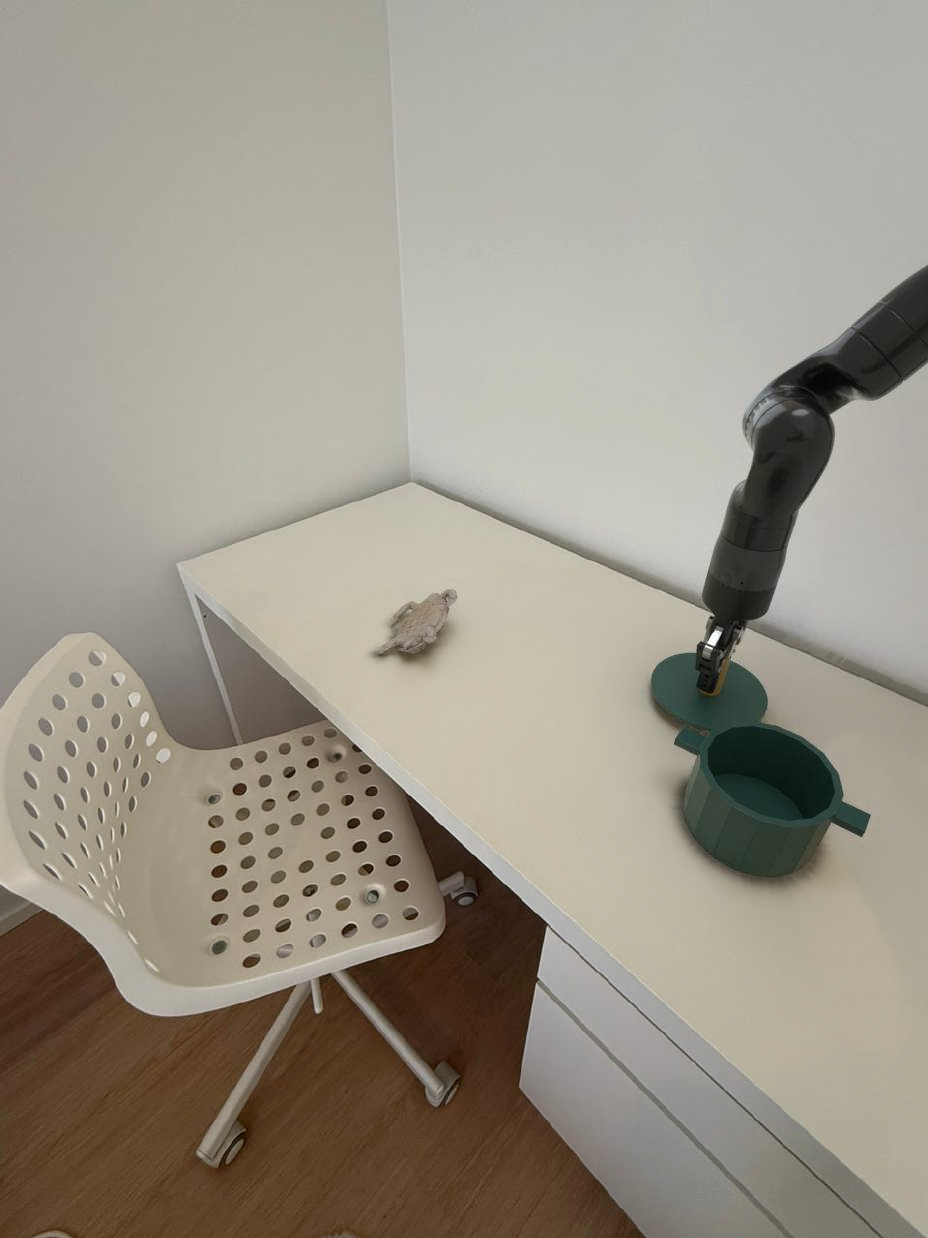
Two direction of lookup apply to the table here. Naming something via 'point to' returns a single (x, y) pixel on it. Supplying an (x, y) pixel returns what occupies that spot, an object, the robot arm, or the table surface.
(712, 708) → the lid
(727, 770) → the green cooking pot
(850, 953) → the table surface
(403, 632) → the turtle
